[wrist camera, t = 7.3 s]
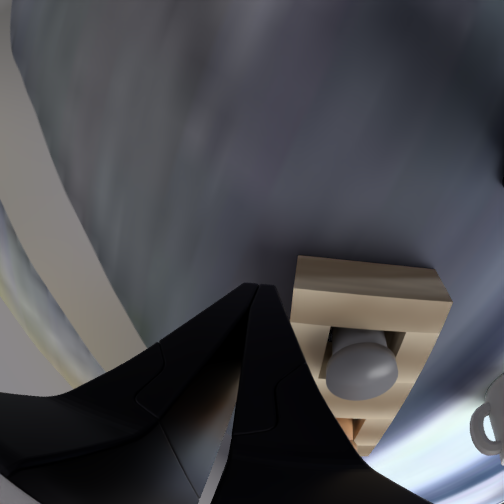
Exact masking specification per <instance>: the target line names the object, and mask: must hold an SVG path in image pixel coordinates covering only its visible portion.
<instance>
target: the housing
mask: <svg viewBox="0 0 504 504" xmlns="http://www.w3.org/2000/svg"><path fill="white" fill-rule="evenodd" d="M452 303H453V301H452V299H451V298H450V296H449V294H448V292H447V290H446V288H445V286H444V285H443V283H442V281H441V279H440V277H439V276H438V274H437V272H436V270H435V269H427V268H417V267H408V266H398V265H388V264H379V263H369V262H360V261H350V260H340V259H331V258H321V257H311V256H302V255H298V259H297V267H296V274H295V282H294V289H293V299H292V308H291V316H290V323H291V325H292V328H293V330H294V333H295V335H296V337H297V340H298V342H299V345H300V347H301V350H302V352H303V354H304V357H305V359H306V362H307V364H308V366H309V369H310V371H311V373H312V376H313V378H314V380H315V382H316V384H317V386H318V389H319V391H320V392H321V394H322V396H323V398H324V399H325V401H326V403H327V405H328V407H329V408H330V410H331V411H332V413H333V415H334V416H335V418H353V441H354V442H355V443H356V444H357V452H358V454H359V455H360V456H369V454H370V453H371V451H372V450H373V449H374V447H375V446H376V444H377V443H378V442H379V440H380V439H381V437H382V436H383V434H384V433H385V431H386V430H387V428H388V427H389V425H390V424H391V422H392V420H393V419H394V417H395V416H396V414H397V412H398V411H399V409H400V408H401V406H402V404H403V403H404V401H405V399H406V397H407V396H408V394H409V392H410V391H411V389H412V387H413V385H414V383H415V382H416V380H417V378H418V376H419V374H420V372H421V370H422V369H423V367H424V365H425V363H426V361H427V359H428V357H429V355H430V353H431V351H432V349H433V347H434V344H435V342H436V340H437V338H438V336H439V334H440V331H441V329H442V327H443V325H444V322H445V320H446V318H447V315H448V313H449V311H450V308H451V306H452ZM330 326H333V327H344V328H356V329H369V330H383V331H384V333H385V338H386V343H387V347H388V348H389V349H390V350H391V351H392V352H393V353H394V355H395V358H396V363H397V368H398V378H397V380H396V382H395V384H394V385H393V386H392V387H391V388H390V389H389V390H388V391H386V392H385V393H383V394H381V395H380V396H377V397H375V398H371V399H367V400H360V401H352V400H345V399H342V398H339V397H337V396H335V395H334V394H332V393H331V392H330V391H329V389H328V388H327V385H326V367H327V363H328V361H329V359H330V358H331V357H332V342H327V340H328V335H329V331H330Z"/></svg>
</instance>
